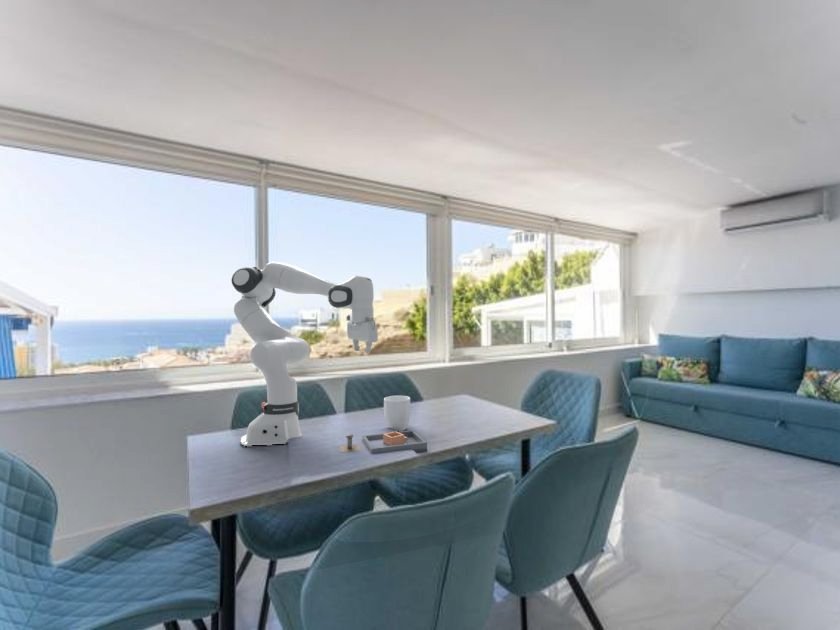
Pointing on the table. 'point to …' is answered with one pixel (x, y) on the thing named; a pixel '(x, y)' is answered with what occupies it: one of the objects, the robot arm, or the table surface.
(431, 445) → the table surface
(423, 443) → the tray
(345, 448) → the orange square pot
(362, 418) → the table surface
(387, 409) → the mug
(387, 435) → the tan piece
